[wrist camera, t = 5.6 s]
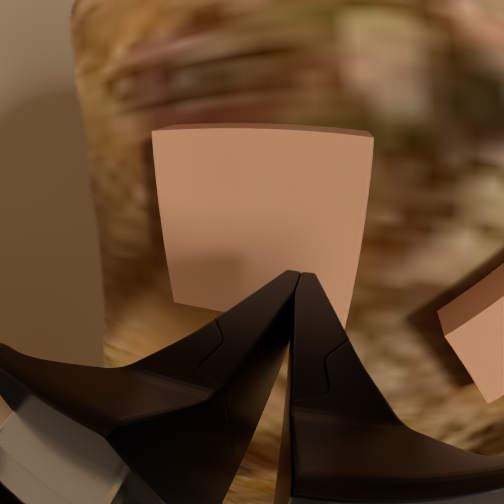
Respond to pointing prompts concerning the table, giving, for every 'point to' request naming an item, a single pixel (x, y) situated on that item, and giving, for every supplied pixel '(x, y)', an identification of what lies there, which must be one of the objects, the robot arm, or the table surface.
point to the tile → (260, 207)
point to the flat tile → (479, 332)
